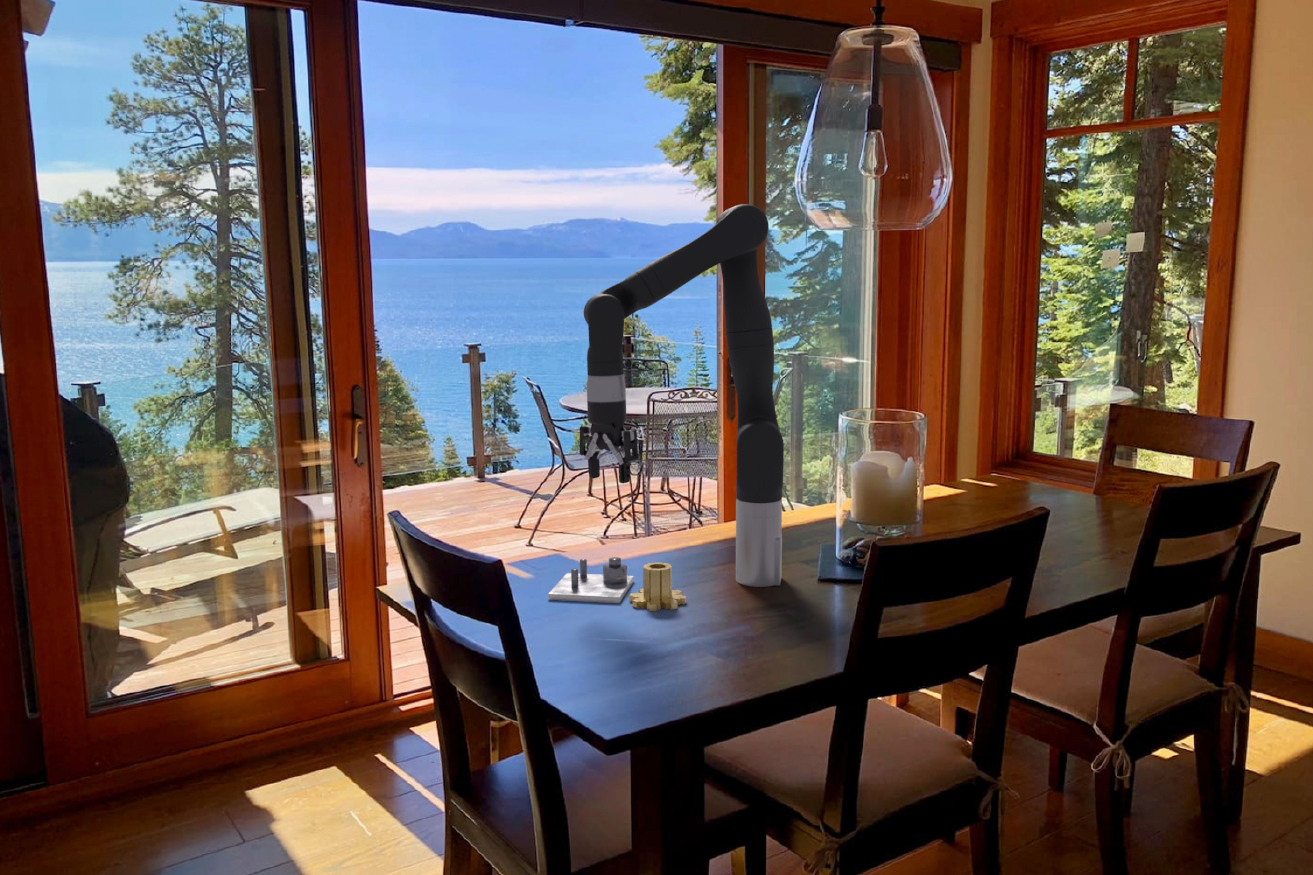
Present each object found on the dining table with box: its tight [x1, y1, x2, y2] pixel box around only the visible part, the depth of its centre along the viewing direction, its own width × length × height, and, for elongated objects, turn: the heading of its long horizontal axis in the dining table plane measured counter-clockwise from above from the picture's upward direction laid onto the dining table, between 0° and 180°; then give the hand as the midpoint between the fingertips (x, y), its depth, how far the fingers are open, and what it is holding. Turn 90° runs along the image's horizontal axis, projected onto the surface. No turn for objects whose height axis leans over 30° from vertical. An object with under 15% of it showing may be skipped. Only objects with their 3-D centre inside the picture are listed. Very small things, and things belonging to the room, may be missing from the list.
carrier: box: [547, 556, 635, 604], centre depth 191 cm, size 14×14×6 cm
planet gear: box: [628, 561, 687, 612], centre depth 184 cm, size 11×11×7 cm
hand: (609, 480), depth 190 cm, fingers open, 8 cm apart
